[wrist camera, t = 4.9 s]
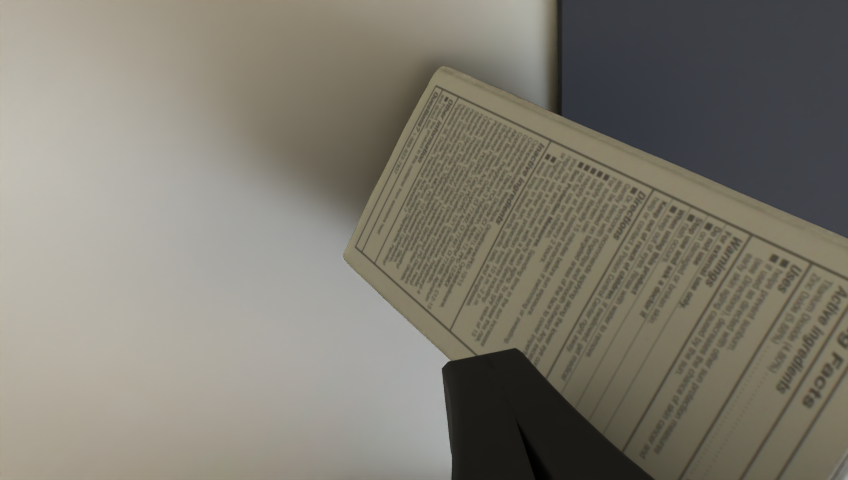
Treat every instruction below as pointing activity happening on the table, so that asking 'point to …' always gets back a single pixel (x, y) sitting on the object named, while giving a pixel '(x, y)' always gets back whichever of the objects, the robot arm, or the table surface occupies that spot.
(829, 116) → the mat
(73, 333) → the table surface
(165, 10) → the table surface
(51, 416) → the table surface
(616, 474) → the robot arm
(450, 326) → the box
